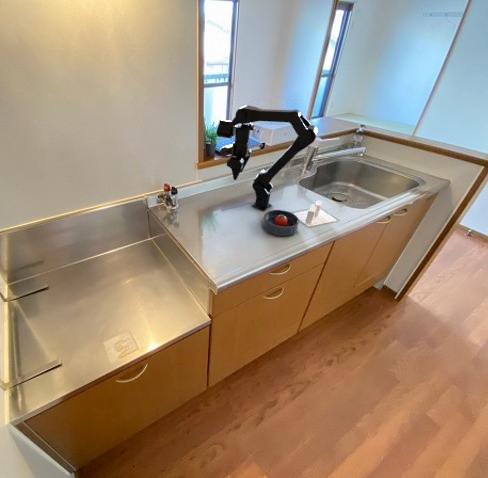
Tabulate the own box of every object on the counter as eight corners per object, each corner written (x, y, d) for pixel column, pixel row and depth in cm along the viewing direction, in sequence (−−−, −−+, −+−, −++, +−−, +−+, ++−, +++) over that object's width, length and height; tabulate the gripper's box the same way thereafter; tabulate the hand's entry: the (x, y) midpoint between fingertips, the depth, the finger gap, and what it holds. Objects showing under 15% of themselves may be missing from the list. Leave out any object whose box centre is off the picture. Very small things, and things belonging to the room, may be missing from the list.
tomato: (277, 221, 111) (279, 210, 108) (288, 226, 109) (291, 215, 106) (270, 226, 109) (272, 215, 106) (281, 231, 106) (284, 220, 103)
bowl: (273, 215, 116) (275, 206, 114) (302, 227, 109) (305, 218, 106) (256, 227, 109) (257, 218, 106) (285, 241, 101) (288, 231, 99)
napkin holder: (308, 227, 109) (312, 214, 106) (291, 213, 118) (294, 201, 114) (337, 220, 113) (342, 208, 110) (318, 207, 122) (322, 196, 119)
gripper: (229, 132, 121) (226, 166, 130) (215, 143, 107) (213, 180, 116) (254, 135, 117) (249, 169, 127) (243, 147, 103) (238, 185, 113)
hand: (237, 175), depth 121 cm, fingers open, 9 cm apart
